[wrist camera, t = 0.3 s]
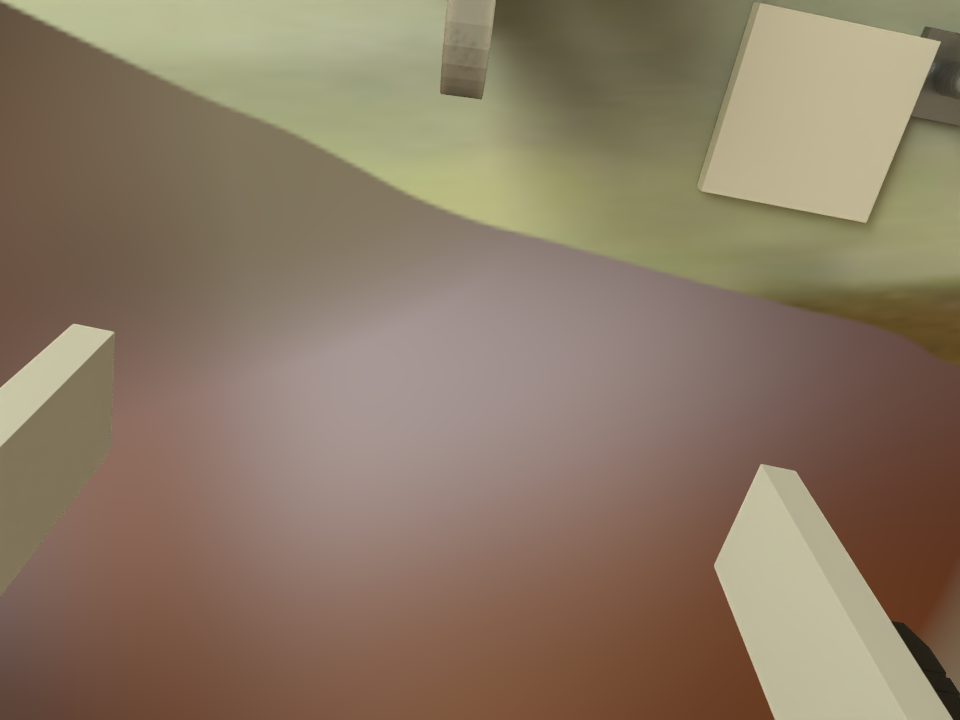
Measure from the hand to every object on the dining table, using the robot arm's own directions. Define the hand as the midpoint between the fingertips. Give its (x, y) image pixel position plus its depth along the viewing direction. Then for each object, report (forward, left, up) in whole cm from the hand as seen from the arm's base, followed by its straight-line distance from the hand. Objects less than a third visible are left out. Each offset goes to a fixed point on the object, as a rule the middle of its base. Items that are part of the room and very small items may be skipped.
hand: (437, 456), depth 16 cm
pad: (-5, +17, -28) cm, 33 cm away
